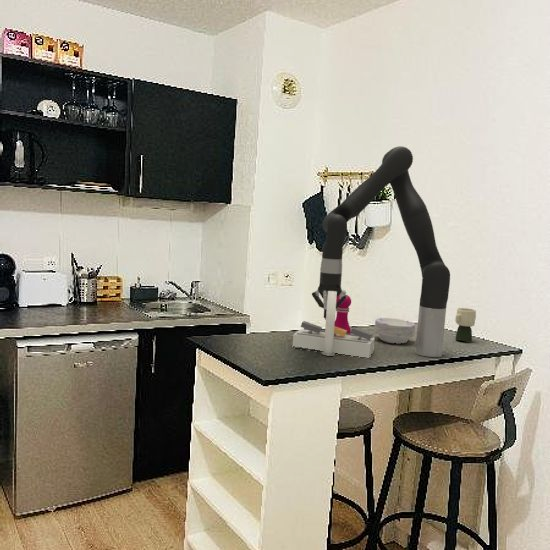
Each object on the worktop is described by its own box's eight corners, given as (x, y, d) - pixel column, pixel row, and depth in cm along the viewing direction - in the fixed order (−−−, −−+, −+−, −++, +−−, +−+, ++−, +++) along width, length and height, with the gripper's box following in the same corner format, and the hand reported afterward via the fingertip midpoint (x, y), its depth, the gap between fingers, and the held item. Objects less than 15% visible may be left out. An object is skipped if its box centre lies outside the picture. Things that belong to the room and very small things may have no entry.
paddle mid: (345, 335, 198) (347, 330, 197) (343, 336, 195) (345, 332, 195) (327, 328, 200) (328, 323, 199) (325, 330, 197) (326, 325, 197)
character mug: (465, 338, 230) (469, 307, 229) (479, 342, 224) (483, 310, 223) (447, 340, 225) (450, 308, 224) (460, 344, 219) (463, 311, 217)
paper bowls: (421, 345, 213) (423, 324, 213) (387, 346, 208) (389, 325, 207) (398, 336, 227) (400, 316, 227) (366, 337, 222) (367, 317, 221)
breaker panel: (373, 351, 199) (374, 336, 198) (368, 358, 189) (370, 342, 188) (301, 341, 208) (302, 326, 207) (292, 348, 197) (293, 332, 196)
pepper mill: (343, 346, 204) (347, 292, 202) (326, 342, 208) (330, 289, 206) (353, 343, 210) (357, 290, 207) (336, 339, 214) (340, 288, 212)
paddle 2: (370, 338, 195) (372, 333, 195) (369, 340, 192) (371, 335, 192) (351, 331, 197) (353, 326, 196) (350, 333, 194) (351, 328, 194)
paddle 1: (320, 332, 200) (322, 327, 200) (318, 333, 198) (320, 328, 197) (302, 325, 202) (304, 320, 202) (300, 326, 200) (302, 322, 199)
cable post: (335, 354, 192) (340, 291, 189) (332, 357, 187) (337, 293, 185) (323, 353, 193) (327, 290, 190) (320, 355, 189) (324, 291, 186)
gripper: (351, 272, 197) (348, 320, 199) (315, 268, 201) (312, 316, 203) (347, 274, 190) (343, 324, 192) (310, 270, 194) (306, 319, 196)
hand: (327, 319), depth 198 cm, fingers closed
